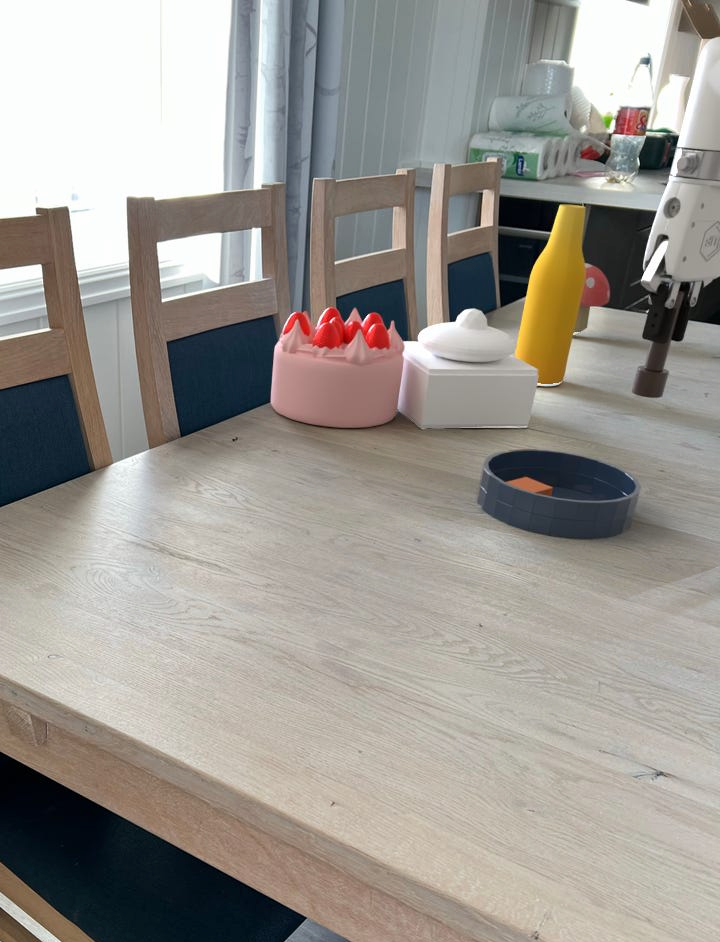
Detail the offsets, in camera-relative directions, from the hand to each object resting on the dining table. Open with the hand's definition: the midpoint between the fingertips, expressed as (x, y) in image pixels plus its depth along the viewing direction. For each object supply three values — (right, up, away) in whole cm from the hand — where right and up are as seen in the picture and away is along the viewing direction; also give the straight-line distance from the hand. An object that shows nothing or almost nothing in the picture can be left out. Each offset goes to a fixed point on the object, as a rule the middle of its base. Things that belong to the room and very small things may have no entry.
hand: (662, 338), depth 116 cm
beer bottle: (+3, +11, +60) cm, 61 cm away
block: (-17, -21, 0) cm, 27 cm away
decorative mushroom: (+21, +30, +96) cm, 103 cm away
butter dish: (-17, 0, +39) cm, 42 cm away
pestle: (0, -6, +3) cm, 7 cm away
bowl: (-12, -20, +3) cm, 24 cm away
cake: (-36, 0, +36) cm, 51 cm away
